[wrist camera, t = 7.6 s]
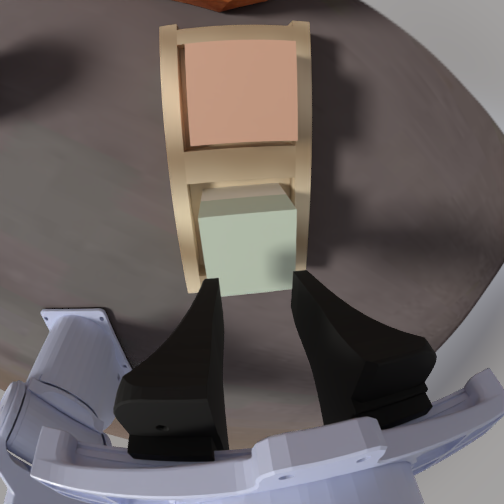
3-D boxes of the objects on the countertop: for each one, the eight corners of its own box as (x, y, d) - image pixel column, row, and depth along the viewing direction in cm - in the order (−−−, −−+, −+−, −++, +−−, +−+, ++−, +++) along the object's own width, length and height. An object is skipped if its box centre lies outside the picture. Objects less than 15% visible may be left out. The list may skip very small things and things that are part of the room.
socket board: (298, 263, 24) (307, 282, 21) (188, 273, 23) (185, 293, 21) (300, 31, 15) (312, 22, 13) (164, 36, 14) (155, 27, 12)
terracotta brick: (277, 130, 17) (297, 140, 13) (198, 134, 17) (190, 146, 13) (275, 56, 15) (296, 41, 10) (193, 59, 14) (184, 43, 10)
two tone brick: (278, 182, 19) (296, 209, 15) (279, 248, 21) (294, 288, 17) (202, 189, 19) (197, 218, 14) (210, 255, 21) (210, 297, 17)
